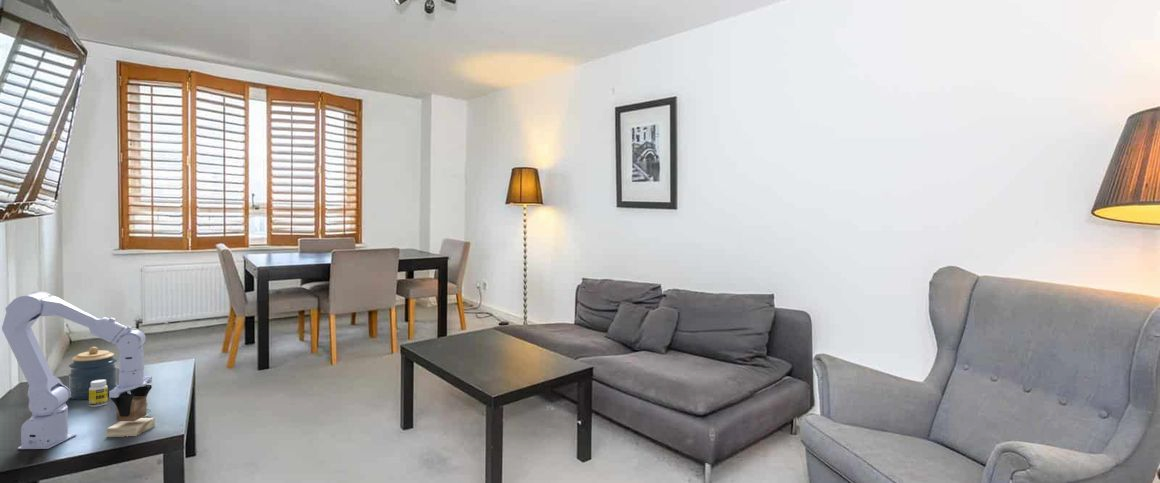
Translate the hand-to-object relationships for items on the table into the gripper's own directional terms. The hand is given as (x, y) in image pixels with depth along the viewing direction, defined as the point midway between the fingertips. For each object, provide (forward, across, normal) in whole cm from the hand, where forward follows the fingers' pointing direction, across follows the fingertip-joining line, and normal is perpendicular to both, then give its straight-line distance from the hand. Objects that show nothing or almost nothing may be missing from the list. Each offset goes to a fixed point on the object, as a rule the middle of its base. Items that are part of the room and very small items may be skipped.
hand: (131, 412), depth 159 cm
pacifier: (+6, +9, +4) cm, 12 cm away
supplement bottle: (+6, +23, +27) cm, 36 cm away
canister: (+6, +34, +37) cm, 51 cm away
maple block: (+6, 0, 0) cm, 6 cm away
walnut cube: (+2, 0, 0) cm, 2 cm away
